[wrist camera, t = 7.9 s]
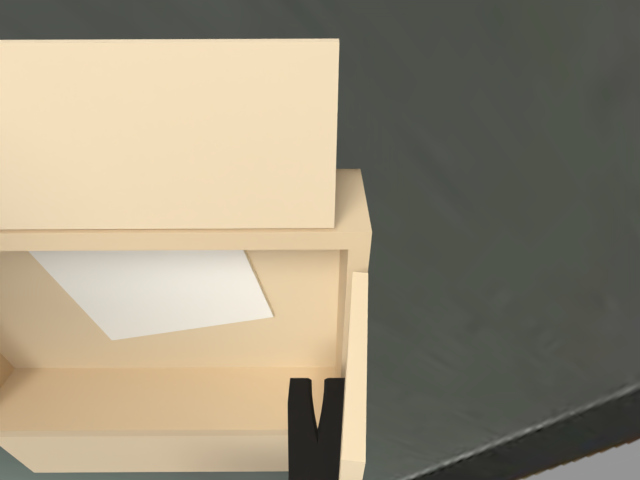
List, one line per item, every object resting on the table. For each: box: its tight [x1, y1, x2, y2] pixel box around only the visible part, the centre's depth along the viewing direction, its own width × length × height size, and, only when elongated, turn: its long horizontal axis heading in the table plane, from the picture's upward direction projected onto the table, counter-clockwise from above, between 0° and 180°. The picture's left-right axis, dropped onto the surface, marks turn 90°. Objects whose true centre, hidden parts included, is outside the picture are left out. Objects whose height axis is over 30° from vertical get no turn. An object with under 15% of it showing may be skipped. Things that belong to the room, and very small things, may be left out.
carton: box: [0, 39, 372, 473], centre depth 15 cm, size 21×18×4 cm
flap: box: [339, 272, 368, 480], centre depth 11 cm, size 11×4×1 cm
